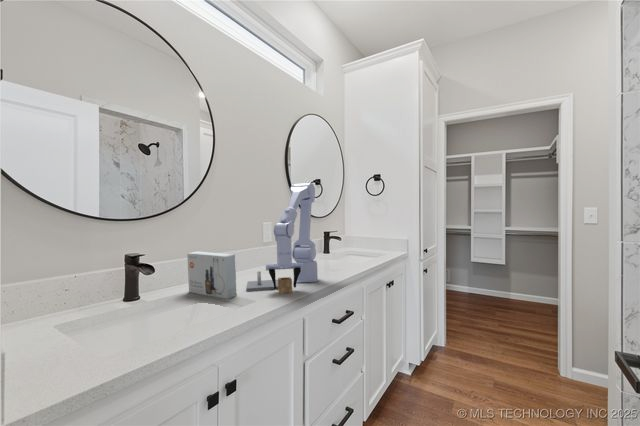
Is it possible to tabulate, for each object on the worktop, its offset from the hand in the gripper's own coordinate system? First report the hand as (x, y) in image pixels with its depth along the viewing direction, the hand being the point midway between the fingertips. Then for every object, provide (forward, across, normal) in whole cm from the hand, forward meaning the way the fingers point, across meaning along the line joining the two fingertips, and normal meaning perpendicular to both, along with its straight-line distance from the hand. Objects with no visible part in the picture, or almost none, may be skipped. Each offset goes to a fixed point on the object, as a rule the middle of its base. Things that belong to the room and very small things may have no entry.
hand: (284, 287), depth 114 cm
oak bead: (+2, 0, 0) cm, 2 cm away
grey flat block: (+2, -6, +10) cm, 12 cm away
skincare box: (+2, -28, +4) cm, 28 cm away
